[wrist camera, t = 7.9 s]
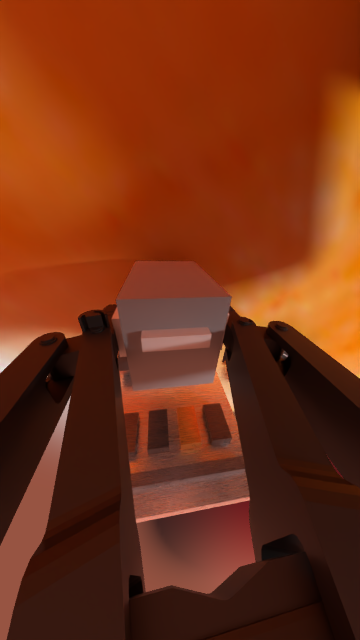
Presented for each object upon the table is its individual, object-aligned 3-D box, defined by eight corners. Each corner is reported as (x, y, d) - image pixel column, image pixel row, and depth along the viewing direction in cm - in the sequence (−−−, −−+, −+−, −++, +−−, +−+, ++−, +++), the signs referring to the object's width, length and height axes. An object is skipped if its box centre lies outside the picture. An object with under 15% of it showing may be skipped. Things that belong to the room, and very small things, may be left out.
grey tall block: (135, 260, 13) (112, 305, 6) (194, 260, 14) (237, 302, 7) (143, 329, 17) (134, 410, 10) (189, 327, 17) (213, 401, 10)
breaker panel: (119, 359, 21) (74, 527, 10) (211, 353, 23) (270, 489, 11) (124, 379, 24) (92, 536, 12) (208, 372, 25) (253, 504, 14)
